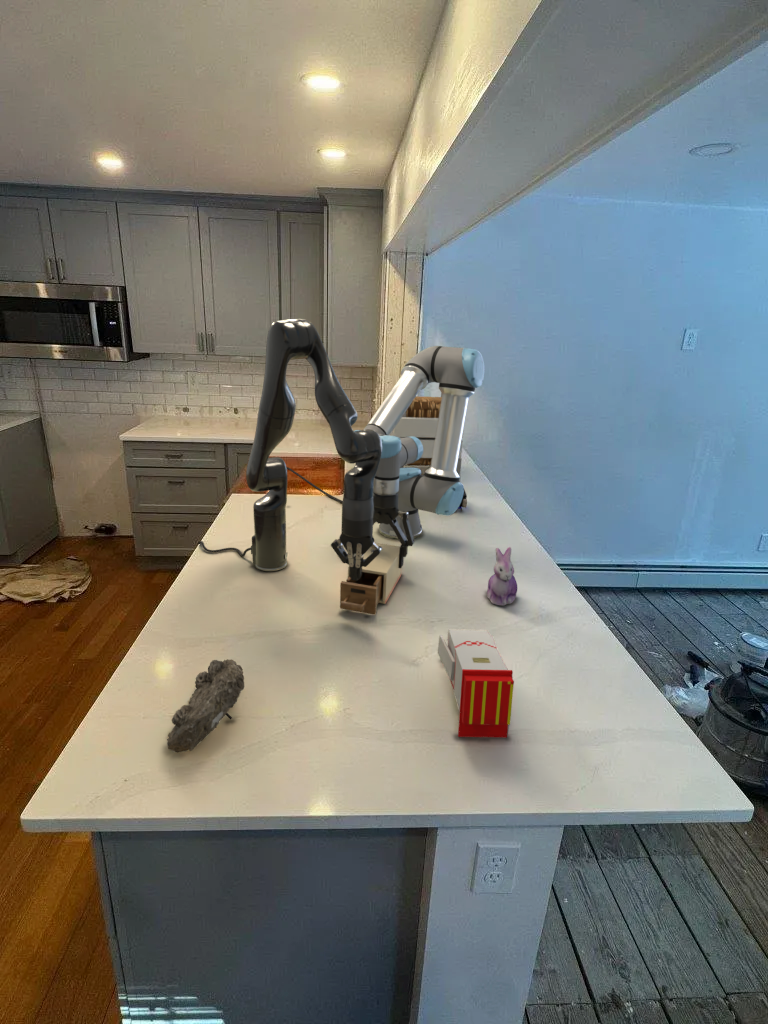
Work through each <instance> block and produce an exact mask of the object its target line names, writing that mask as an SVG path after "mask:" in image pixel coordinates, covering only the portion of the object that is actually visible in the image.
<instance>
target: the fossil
mask: <svg viewBox="0 0 768 1024" xmlns="http://www.w3.org/2000/svg"><path fill="white" fill-rule="evenodd" d="M243 670H244V669H243V667H242V665H240V664H237V662H236V661H235V660H234V659H232V658H231V659H227V658H226V659H224V660H223V661H222V660H217V659H212V660H211V661H210V663H209V665H208V666H207V671H201V672H199V673H198V674H197V675H196V676H195V680H194V684H195V685H194V687H195V689H194V690H193V693H192V694H191V697H190V698H189V700H188V704H184V705H182V706H181V707H180V709H177V710H176V711H175V713H174V715H173V716H172V718H171V723H172V724H173V727H172V730H171V731H170V732H168V734H167V738H166V741H167V742H166V745H167V749H168V750H169V751H173V752H174V753H176V754H178V753H182V752H188V751H189V752H192V751H193V750H195V748H196V747H197V746H199V744H200V743H201V742H203V741H204V740H205V739H206V738H207V737H208V736H209V735H210V734H211V733H212V732H214V730H215V729H217V727H218V726H219V724H220V722H221V721H222V720H223V719H224V718H225V716H226V717H227V719H229V720H233V717H232V715H230V714H229V710H230V709H231V708H234V706H235V704H236V703H237V702H238V699H239V697H240V695H241V693H242V691H243V690H245V689H244V688H245V675H244V671H243Z"/></svg>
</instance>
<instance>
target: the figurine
mask: <svg viewBox="0 0 768 1024" xmlns="http://www.w3.org/2000/svg"><path fill="white" fill-rule="evenodd" d="M511 557H512V547H511V546H509V547H507V548H506V550H505V552H504V553H503V552H502V551H501V549H500V548H499V547H496V548H495V560H496V561H495V565H494V567H493V572H494V573H493V574H492V575H491V576H490V577H489V578H488V581H487V582H488V583H487V592H486V596H487V598H488V600H489V601H490V603H491V604H493V605H496V606H506V605H508V604H512V603H513V602H514V601H515V600H516V596H517V593H518V583H517V579H516V578H515V575H514V573H515V567H514V565H513V563H512V560H511Z"/></svg>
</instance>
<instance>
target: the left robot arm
mask: <svg viewBox="0 0 768 1024" xmlns="http://www.w3.org/2000/svg"><path fill="white" fill-rule="evenodd" d="M301 359H302V360H303V359H305V360H306V361H307V362H308V364H309V365H310V367H311V368H312V370H313V374H314V375H313V376H314V399H315V402H316V405H317V406H318V409H319V410H320V412H321V414H322V416H323V417H324V419H325V420H326V422H327V423H328V425H329V428H330V432H331V436H332V439H333V443H334V446H335V450H336V452H337V455H338V456H339V457H340V458H341V460H342V461H344V462H346V463H347V464H352V465H353V464H354V466H353V467H352V468H351V469H349V470H348V471H347V472H346V473H345V474H344V476H343V495H342V501H343V502H342V503H341V528H340V529H341V533H340V535H339V538H337V539H336V538H335V539H334V540H333V541H332V542H331V543H330V547H331V548H332V550H333V551H334V552H335V554H336V556H337V557H338V558H339V560H340V561H341V562H342V564H346V565H348V567H349V577H350V578H351V580H354V581H357V580H358V579H360V577H361V575H362V566H364V567H366V566H367V565H368V564H369V563H370V562H371V561H372V560H373V559H374V558H375V557H377V556H378V555H379V553H380V552H381V550H382V547H381V546H377V545H376V544H375V543H376V542H375V538H374V535H373V533H374V525H373V515H374V502H373V490H374V478H375V475H376V472H377V469H378V466H379V462H380V459H381V455H382V441H381V438H380V436H379V434H378V433H377V432H376V431H374V430H372V429H365V430H364V429H359V430H360V431H355V430H354V429H353V425H355V423H356V422H357V420H358V418H359V417H358V411H357V410H356V408H355V406H354V405H353V403H352V402H351V400H350V398H349V396H348V395H347V393H346V392H345V390H344V389H343V387H342V385H341V383H340V381H339V379H338V377H337V375H336V372H335V370H334V367H333V366H332V363H331V360H330V357H329V356H328V353H327V350H326V348H325V346H324V343H323V340H322V339H321V336H320V333H319V332H318V330H317V328H316V327H315V325H314V324H313V322H311V321H310V320H308V319H306V318H289V319H288V318H287V319H280V320H278V319H277V320H275V321H273V322H272V323H271V325H270V326H269V328H268V332H267V336H266V348H265V364H264V365H265V366H264V374H263V375H264V376H263V382H262V383H263V384H262V391H261V396H260V401H259V406H258V410H257V411H258V413H257V419H256V427H255V433H254V439H253V443H252V445H251V450H250V453H249V457H248V460H247V465H246V472H245V480H246V484H247V486H248V489H249V490H251V491H252V492H256V493H257V492H267V493H265V495H263V496H262V497H260V498H259V499H257V500H255V501H254V503H253V507H252V508H253V509H252V510H253V530H254V535H252V537H251V545H250V547H248V548H246V549H245V550H244V551H243V553H242V551H241V550H240V549H239V548H236V547H225V548H220V549H208V548H207V547H206V546H205V543H204V541H203V540H200V541H198V543H197V545H201V547H202V549H203V550H204V551H205V552H208V553H220V552H226V551H235V552H237V553H238V554H239V556H240V557H245V556H246V555H247V553H248V552H249V551H250V554H251V556H252V567H254V568H256V569H257V570H259V571H263V572H277V571H280V570H283V569H284V568H286V567H287V566H288V559H287V558H288V552H287V513H286V512H287V511H286V510H287V509H286V508H287V501H288V469H287V467H288V466H287V464H286V462H285V460H284V459H283V458H282V457H279V456H274V457H273V456H272V457H270V455H272V453H273V451H274V450H275V449H276V447H277V446H278V445H279V444H281V442H283V440H284V439H285V438H286V437H287V435H288V434H289V433H290V431H291V430H292V427H293V423H294V419H295V414H296V409H297V405H296V399H295V396H294V394H293V393H292V390H291V388H290V386H289V384H288V381H287V370H288V365H289V362H290V361H292V360H301ZM370 547H371V548H372V549H371V554H370V555H369V556H368V557H367V558H366V559H364V560H363V558H364V554H365V553H366V552H367V550H368V549H369V548H370Z"/></svg>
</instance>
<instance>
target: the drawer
mask: <svg viewBox="0 0 768 1024" xmlns="http://www.w3.org/2000/svg"><path fill="white" fill-rule="evenodd" d="M383 581H384V575H379V574H373V573H367V572H362V575H361V577H360V579H358V580H357V581H354V580H351V578H350V577H348V576H347V578H346V580H341V582H340V590H339V592H340V594H339V600H340V601H339V609H341V610H345V611H346V610H347V611H350V612H351V611H352V612H357V613H363V614H368V615H374V616H376V614H377V609H378V608H377V607H378V605H379V604H380V603H379V601H380V599H381V598H382V596H383Z"/></svg>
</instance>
